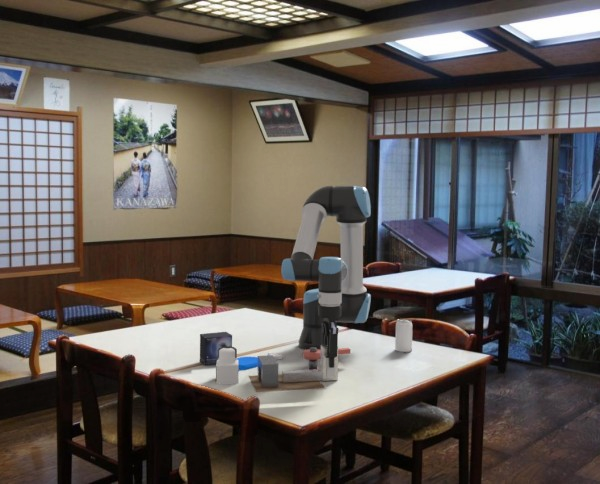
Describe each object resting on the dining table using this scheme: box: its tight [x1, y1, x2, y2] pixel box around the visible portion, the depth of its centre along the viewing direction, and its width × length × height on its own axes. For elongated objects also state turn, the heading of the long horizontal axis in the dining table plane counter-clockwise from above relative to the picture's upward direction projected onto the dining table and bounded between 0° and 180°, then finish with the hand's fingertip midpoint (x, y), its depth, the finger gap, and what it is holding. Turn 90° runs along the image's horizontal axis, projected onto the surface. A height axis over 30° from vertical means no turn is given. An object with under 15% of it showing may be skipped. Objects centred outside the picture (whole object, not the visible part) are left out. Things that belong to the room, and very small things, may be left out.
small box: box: [199, 331, 233, 366], centre depth 250 cm, size 11×6×10 cm, turn 117°
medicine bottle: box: [215, 346, 239, 385], centre depth 224 cm, size 7×7×12 cm
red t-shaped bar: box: [302, 347, 351, 361], centre depth 240 cm, size 18×7×3 cm, turn 113°
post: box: [308, 359, 318, 370], centre depth 238 cm, size 3×3×5 cm
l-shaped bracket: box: [281, 345, 339, 383], centre depth 224 cm, size 4×18×11 cm, turn 102°
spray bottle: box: [237, 352, 283, 371], centre depth 249 cm, size 3×11×24 cm
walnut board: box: [248, 373, 326, 393], centre depth 223 cm, size 18×22×1 cm
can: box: [394, 318, 413, 353], centre depth 270 cm, size 6×6×12 cm
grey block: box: [257, 355, 279, 388], centre depth 222 cm, size 11×5×8 cm, turn 12°
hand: (329, 374), depth 226 cm, fingers closed on l-shaped bracket, 4 cm apart
